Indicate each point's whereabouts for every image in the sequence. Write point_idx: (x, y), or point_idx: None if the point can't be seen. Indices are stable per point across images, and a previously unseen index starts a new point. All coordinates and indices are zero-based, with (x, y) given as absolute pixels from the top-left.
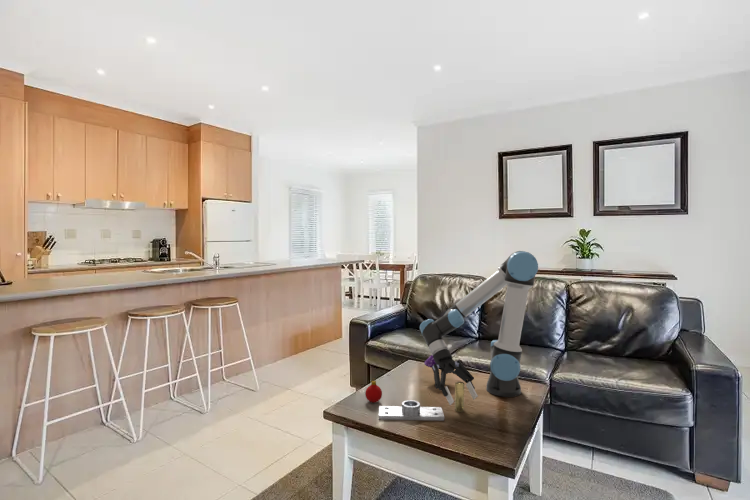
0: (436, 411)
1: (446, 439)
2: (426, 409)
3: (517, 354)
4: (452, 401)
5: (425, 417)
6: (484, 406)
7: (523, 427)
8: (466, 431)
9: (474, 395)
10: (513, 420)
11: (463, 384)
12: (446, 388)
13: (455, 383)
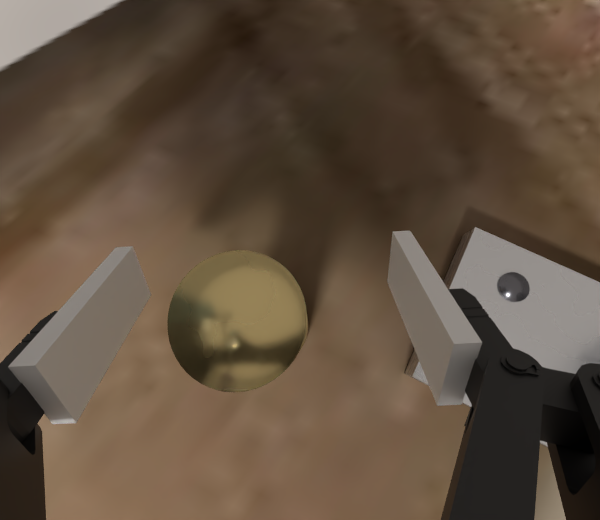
0: None
1: (559, 59)
2: None
3: None
4: (411, 234)
5: (596, 285)
6: None
7: (120, 18)
8: (414, 85)
9: (130, 272)
10: (96, 88)
11: (218, 255)
12: (466, 321)
13: (304, 334)
